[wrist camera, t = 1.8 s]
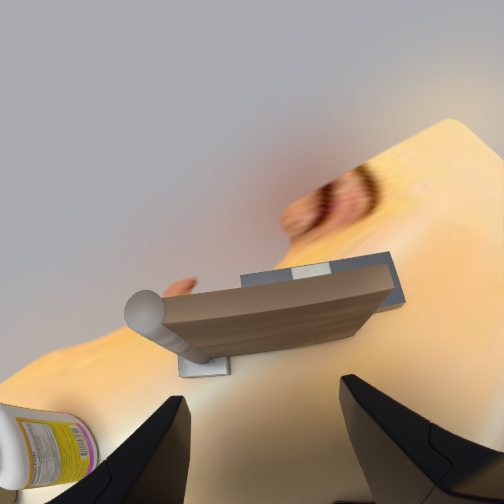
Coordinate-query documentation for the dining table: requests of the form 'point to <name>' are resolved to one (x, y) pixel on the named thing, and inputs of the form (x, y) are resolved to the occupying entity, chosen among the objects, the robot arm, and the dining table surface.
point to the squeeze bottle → (7, 496)
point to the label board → (394, 299)
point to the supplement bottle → (43, 448)
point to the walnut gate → (260, 314)
